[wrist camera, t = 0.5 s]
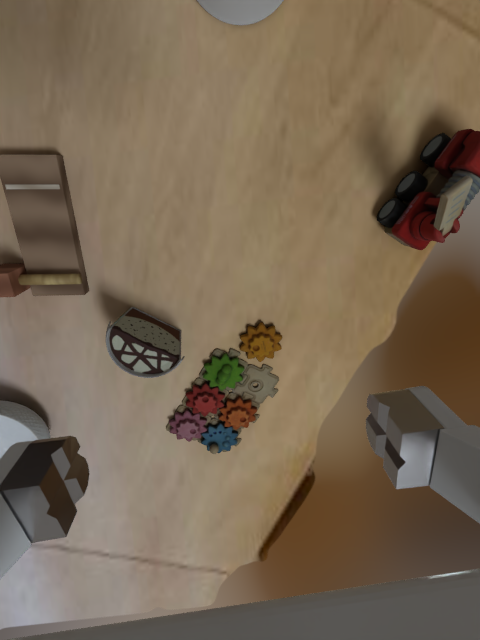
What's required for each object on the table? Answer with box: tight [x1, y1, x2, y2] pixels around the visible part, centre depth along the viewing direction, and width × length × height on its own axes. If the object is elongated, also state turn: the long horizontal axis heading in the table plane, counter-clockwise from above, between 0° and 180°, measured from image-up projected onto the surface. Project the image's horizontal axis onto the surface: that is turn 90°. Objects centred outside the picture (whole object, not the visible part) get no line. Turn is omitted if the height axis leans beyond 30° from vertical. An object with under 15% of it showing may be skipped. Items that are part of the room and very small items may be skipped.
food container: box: [106, 306, 185, 378], centre depth 52 cm, size 12×6×10 cm, turn 59°
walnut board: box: [0, 155, 89, 296], centre depth 48 cm, size 20×8×2 cm, turn 0°
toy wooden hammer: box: [0, 263, 82, 297], centre depth 49 cm, size 4×13×6 cm, turn 90°
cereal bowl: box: [0, 401, 50, 459], centre depth 60 cm, size 17×17×7 cm
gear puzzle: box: [166, 322, 282, 454], centre depth 62 cm, size 31×16×4 cm, turn 149°
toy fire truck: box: [377, 129, 480, 250], centre depth 42 cm, size 11×16×18 cm
